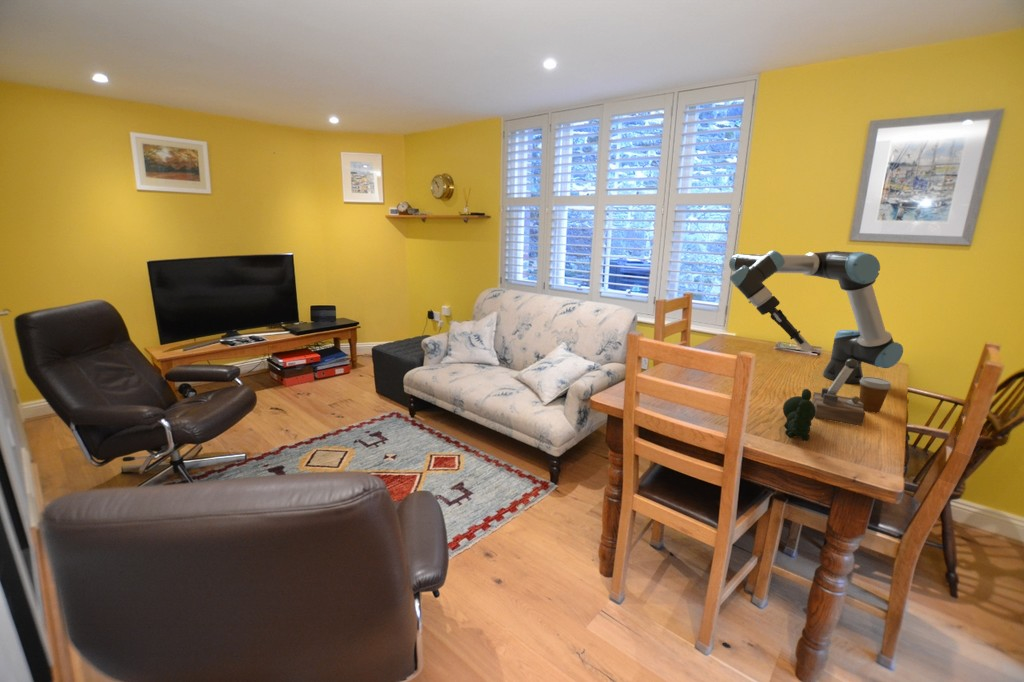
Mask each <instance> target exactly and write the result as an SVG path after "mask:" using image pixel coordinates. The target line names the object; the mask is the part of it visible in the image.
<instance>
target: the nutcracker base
mask: <svg viewBox="0 0 1024 682" xmlns="http://www.w3.org/2000/svg"><path fill="white" fill-rule="evenodd" d="M828 389H829V388H827V387H822V388H821V392H817V391H814V392H813V395H812V398H811V399H812V401H811V402H812V403H813V404H814V406H815V410H816V413H815V417H814V418H815V419H820V420H824V419H825V421H830V420H831V422H835V421H836V422H837V423H841V422H842V423H841V424H846V423H847V424H846V425H851V424H852V426H857V425H858V426H857V427H863V424H864V421H865V417H866V411H864V410H863V408H862V407H863V405H864V404H863V403H861V402H859V401H860V396H857V395H855V396H853V397H848V396H841V395H837V394H836V395H832V394H826V393H827V391H828Z"/></svg>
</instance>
